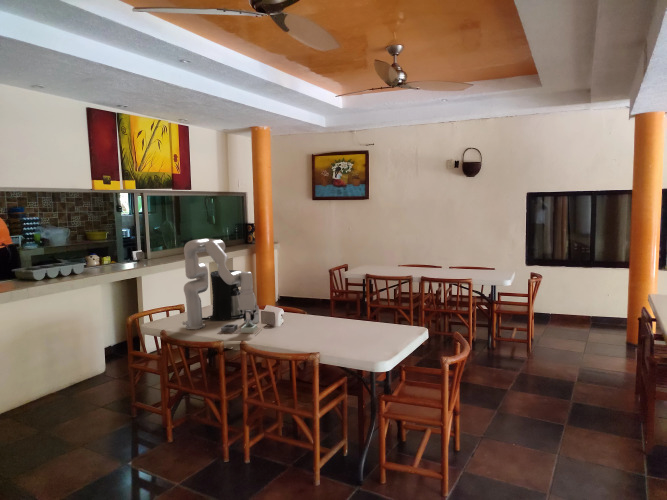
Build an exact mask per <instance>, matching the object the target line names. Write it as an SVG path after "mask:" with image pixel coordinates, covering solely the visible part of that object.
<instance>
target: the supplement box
mask: <svg viewBox="0 0 667 500" xmlns="http://www.w3.org/2000/svg"><path fill="white" fill-rule="evenodd" d="M255 309H256V308H255ZM255 309H254V310H255ZM243 323H244V324H246V320H245V321H243ZM257 323H260V309H259V310H257V311H256V312H255V313H254V320H252V324H257Z"/></svg>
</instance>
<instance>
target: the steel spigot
mask: <svg viewBox="0 0 667 500" xmlns="http://www.w3.org/2000/svg"><path fill="white" fill-rule="evenodd" d="M245 317H246V323H245V324H246V327H252V320H251V310H246V311H245Z"/></svg>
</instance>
